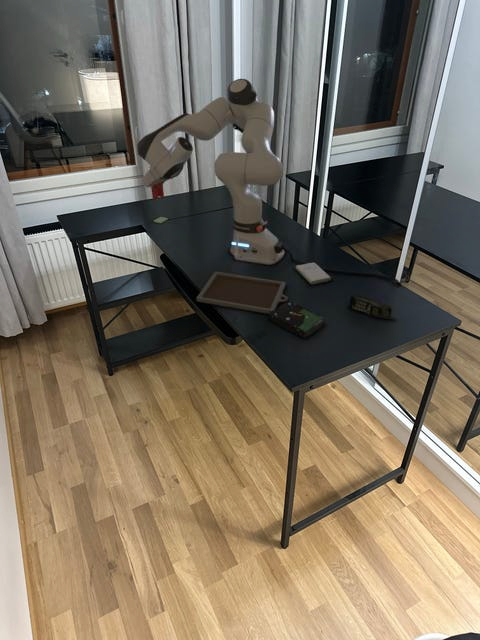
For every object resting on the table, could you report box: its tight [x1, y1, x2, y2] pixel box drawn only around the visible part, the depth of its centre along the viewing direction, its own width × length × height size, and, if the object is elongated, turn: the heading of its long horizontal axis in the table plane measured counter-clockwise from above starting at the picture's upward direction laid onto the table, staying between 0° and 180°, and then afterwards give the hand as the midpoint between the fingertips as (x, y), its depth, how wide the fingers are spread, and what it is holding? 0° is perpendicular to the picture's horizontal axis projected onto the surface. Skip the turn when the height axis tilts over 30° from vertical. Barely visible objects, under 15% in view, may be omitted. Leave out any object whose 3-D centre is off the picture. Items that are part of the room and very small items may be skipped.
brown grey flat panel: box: [195, 271, 289, 315], centre depth 152 cm, size 19×2×30 cm
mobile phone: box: [348, 294, 395, 321], centre depth 141 cm, size 5×3×15 cm
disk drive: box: [268, 300, 325, 339], centre depth 138 cm, size 10×3×15 cm
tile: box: [152, 216, 169, 224], centre depth 205 cm, size 5×6×1 cm
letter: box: [150, 182, 165, 201], centre depth 196 cm, size 3×5×10 cm, turn 143°
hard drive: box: [295, 262, 332, 285], centre depth 163 cm, size 2×8×12 cm
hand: (155, 184), depth 196 cm, fingers closed on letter, 5 cm apart
